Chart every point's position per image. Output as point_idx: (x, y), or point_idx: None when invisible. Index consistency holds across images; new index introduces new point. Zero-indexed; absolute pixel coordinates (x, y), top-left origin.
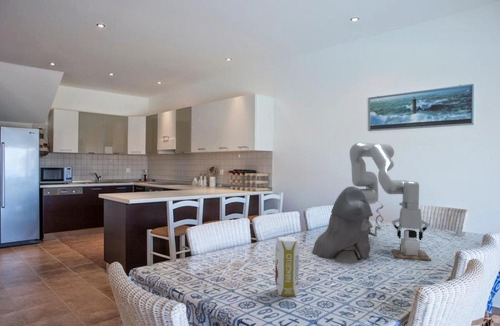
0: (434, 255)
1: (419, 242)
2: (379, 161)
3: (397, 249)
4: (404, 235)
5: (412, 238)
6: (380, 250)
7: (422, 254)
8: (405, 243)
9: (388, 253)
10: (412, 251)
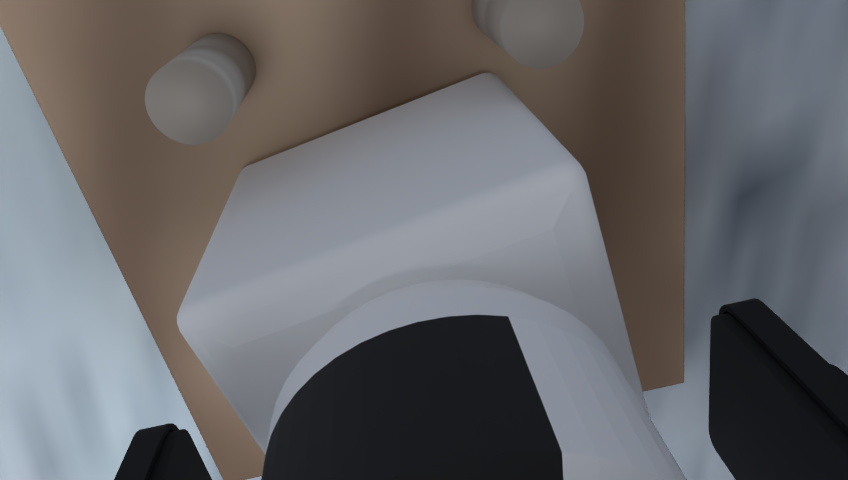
0: (79, 430)
1: (184, 300)
2: None
3: None
4: (645, 411)
5: (378, 321)
6: (829, 303)
7: None
8: (552, 142)
9: (738, 181)
10: (363, 142)
